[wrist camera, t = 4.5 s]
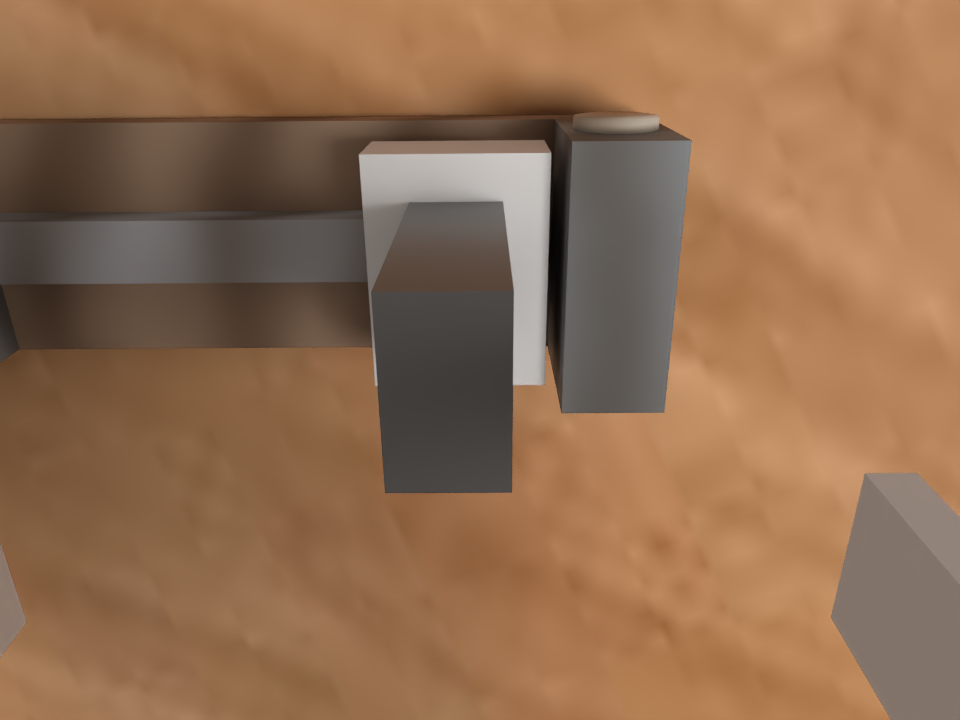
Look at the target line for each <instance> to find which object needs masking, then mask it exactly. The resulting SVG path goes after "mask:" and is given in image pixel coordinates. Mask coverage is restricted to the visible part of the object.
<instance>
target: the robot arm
mask: <svg viewBox="0 0 960 720" xmlns="http://www.w3.org/2000/svg"><path fill="white" fill-rule="evenodd" d="M831 618H832V620H833V622H834V623H835V625H836V627H837V629H838V630H839V632H840V634H841V635H842V637H843V639H844V641H845V642H846V644H847V646H848V647H849V649H850V651H851V652H852V654H853V656H854V658H855V659H856V661H857V663H858V664H859V666H860V668H861V669H862V671H863V673H864V675H865V676H866V678H867V680H868V681H869V683H870V685H871V686H872V688H873V690H874V692H875V693H876V695H877V697H878V698H879V700H880V702H881V703H882V705H883V707H884V709H885V710H886V712H887V714H888V715H889V717H890V719H891V720H960V517H959V516H958V515H957V514H956V513H955V512H954V511H953V510H952V509H951V508H950V507H949V506H948V505H947V504H946V503H945V502H944V501H943V500H942V498H941V497H940V496H939V495H938V494H937V493H936V492H935V491H934V490H933V489H932V488H931V487H930V486H929V485H928V484H927V483H926V482H925V481H924V480H923V479H922V478H921V477H920V476H919V475H918V474H917V473H865V476H864V480H863V484H862V488H861V492H860V497H859V501H858V505H857V509H856V513H855V518H854V522H853V526H852V530H851V535H850V539H849V543H848V547H847V551H846V556H845V560H844V564H843V568H842V573H841V577H840V581H839V585H838V589H837V594H836V598H835V602H834V606H833V610H832V615H831ZM25 624H26V619H25V616H24V613H23V610H22V607H21V604H20V601H19V598H18V595H17V592H16V589H15V586H14V583H13V580H12V577H11V574H10V571H9V568H8V565H7V562H6V559H5V556H4V553H3V550H2V547H1V544H0V657H1V656H2V654H3V653H4V652H5V650H6V649H7V648H8V646H9V645H10V644H11V642H12V641H13V640H14V638H15V637H16V636H17V634H18V633H19V632H20V630H21V629H22V628H23V626H24V625H25Z"/></svg>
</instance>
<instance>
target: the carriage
mask: <svg viewBox="0 0 960 720" xmlns="http://www.w3.org/2000/svg"><path fill="white" fill-rule="evenodd" d="M359 164H360V178H361V192H362V206H363V220H364V234H365V248H366V262H367V276H368V291H369V305H370V319H371V333H372V347H373V361H374V375H375V386H378V399H379V413H380V427H381V442H382V456H383V470H384V484H385V493H507V492H512V426H513V385H545V358H546V323H547V288H548V254H549V219H550V185H551V151H550V150H549V148H548V146H547V144H546V142H545V141H544V140H483V141H372V142H371V143H370V144H369V145H368V146H367V147H366V148H365V149H364V150H363V151H362V152H361V153H360V154H359Z"/></svg>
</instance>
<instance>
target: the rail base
mask: <svg viewBox="0 0 960 720" xmlns="http://www.w3.org/2000/svg"><path fill="white" fill-rule="evenodd" d="M659 121H660V116H659V115H655V114H649V113H638V112H589V113H580V114H575V115H488V116H371V117H253V118H135V119H17V120H0V362H2V361H3V360H4V359H6V358H7V357H9V356H10V355H12V354H13V353H15V352H16V351H18V350H19V349H134V348H284V347H372V333H371V319H370V305H369V291H368V276H367V262H366V248H365V234H364V220H363V206H362V192H361V178H360V164H359V154H360V153H361V152H362V151H363V150H364V149H365V148H366V147H367V146H368V145H369V144H370V143H371V142H372V141H483V140H544V141H545V142H546V144H547V146H548V148H549V150H550V151H551V185H550V219H549V254H548V288H547V323H546V346H548V350H549V355H550V359H551V364H552V369H553V374H554V379H555V384H556V388H557V393H558V398H559V403H560V408H561V413H664V409H665V399H666V389H667V379H668V369H669V360H670V350H671V340H672V330H673V320H674V310H675V300H676V290H677V280H678V271H679V261H680V251H681V241H682V231H683V221H684V211H685V201H686V191H687V182H688V172H689V162H690V152H691V142H692V140H690V139H688V138H686V137H684V136H682V135H680V134H678V133H677V132H675V131H673V130H671V129H669V128H667V127H665V126H663V125H661V124H660V123H659Z"/></svg>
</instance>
